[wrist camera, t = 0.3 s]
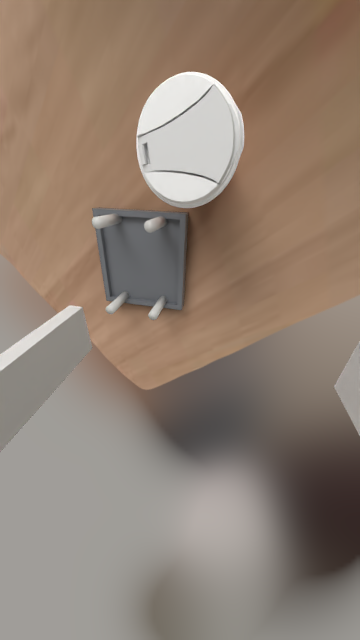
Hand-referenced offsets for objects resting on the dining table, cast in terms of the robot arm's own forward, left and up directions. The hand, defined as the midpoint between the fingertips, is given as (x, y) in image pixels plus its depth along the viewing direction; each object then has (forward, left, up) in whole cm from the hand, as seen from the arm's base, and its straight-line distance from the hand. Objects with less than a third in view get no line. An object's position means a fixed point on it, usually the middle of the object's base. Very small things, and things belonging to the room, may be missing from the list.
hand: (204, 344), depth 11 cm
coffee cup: (-9, -3, -26) cm, 28 cm away
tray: (+4, -12, -26) cm, 29 cm away
